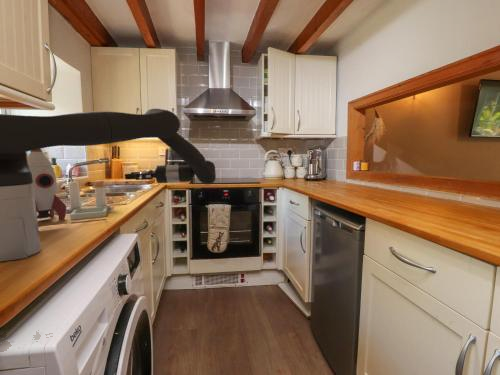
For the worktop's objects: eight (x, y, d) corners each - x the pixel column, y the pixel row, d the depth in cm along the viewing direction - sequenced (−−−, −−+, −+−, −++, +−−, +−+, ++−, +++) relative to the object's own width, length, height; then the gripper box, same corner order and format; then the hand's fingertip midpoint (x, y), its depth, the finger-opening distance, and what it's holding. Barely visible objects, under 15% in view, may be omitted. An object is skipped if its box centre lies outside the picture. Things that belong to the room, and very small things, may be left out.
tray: (106, 220, 100) (105, 211, 100) (71, 223, 96) (70, 214, 95) (108, 214, 110) (107, 206, 110) (76, 217, 106) (75, 208, 105)
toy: (29, 230, 88) (17, 136, 84) (20, 225, 94) (8, 138, 90) (68, 223, 97) (59, 137, 93) (57, 219, 103) (48, 139, 99)
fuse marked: (106, 209, 112) (103, 180, 110) (96, 210, 110) (93, 181, 109) (106, 208, 115) (104, 180, 113) (96, 209, 113) (94, 180, 112)
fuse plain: (80, 212, 108) (77, 182, 106) (69, 213, 106) (66, 182, 105) (82, 210, 111) (79, 181, 110) (71, 211, 110) (68, 181, 108)
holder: (113, 213, 111) (112, 206, 111) (32, 221, 100) (31, 213, 100) (114, 210, 118) (113, 203, 117) (38, 217, 107) (37, 209, 106)
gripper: (169, 164, 122) (131, 165, 119) (165, 166, 108) (122, 167, 105) (171, 180, 123) (133, 182, 120) (166, 184, 109) (123, 186, 106)
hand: (128, 175), depth 113 cm, fingers open, 8 cm apart
